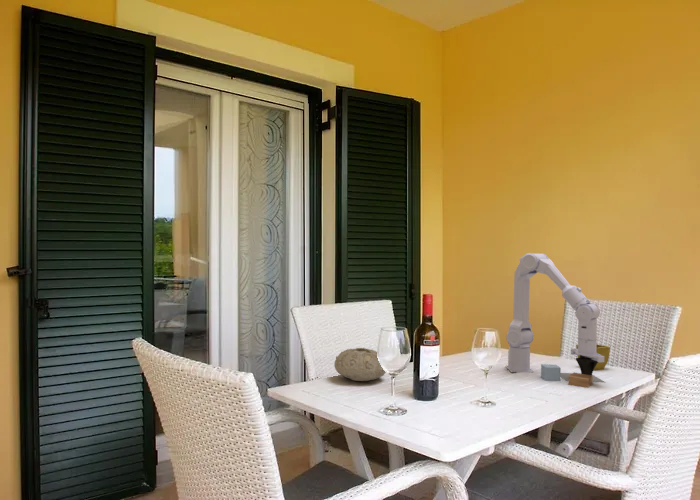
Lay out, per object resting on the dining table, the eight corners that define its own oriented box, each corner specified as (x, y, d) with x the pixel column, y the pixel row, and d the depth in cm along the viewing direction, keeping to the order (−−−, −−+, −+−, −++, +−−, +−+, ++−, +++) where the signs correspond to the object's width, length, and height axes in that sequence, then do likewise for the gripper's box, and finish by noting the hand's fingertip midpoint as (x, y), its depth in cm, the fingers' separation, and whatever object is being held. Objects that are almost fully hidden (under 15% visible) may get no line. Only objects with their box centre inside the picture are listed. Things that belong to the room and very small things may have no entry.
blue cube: (540, 378, 185) (541, 364, 185) (555, 379, 185) (555, 364, 185) (545, 382, 180) (545, 367, 180) (560, 382, 180) (560, 367, 180)
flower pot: (574, 367, 204) (575, 344, 204) (591, 365, 208) (591, 342, 208) (594, 372, 196) (594, 348, 196) (610, 370, 200) (611, 346, 200)
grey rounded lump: (397, 381, 178) (398, 351, 178) (356, 389, 167) (357, 357, 167) (363, 371, 192) (364, 343, 192) (323, 377, 181) (323, 348, 181)
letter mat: (554, 373, 193) (554, 372, 193) (591, 374, 192) (591, 373, 192) (566, 382, 180) (566, 381, 180) (605, 383, 179) (605, 382, 179)
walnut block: (573, 381, 180) (573, 372, 180) (592, 384, 176) (592, 375, 176) (568, 385, 175) (568, 376, 175) (587, 388, 172) (587, 379, 172)
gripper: (563, 336, 185) (562, 375, 185) (591, 343, 171) (590, 385, 171) (581, 335, 187) (580, 374, 187) (610, 342, 173) (609, 384, 173)
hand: (586, 379), depth 179 cm, fingers closed
